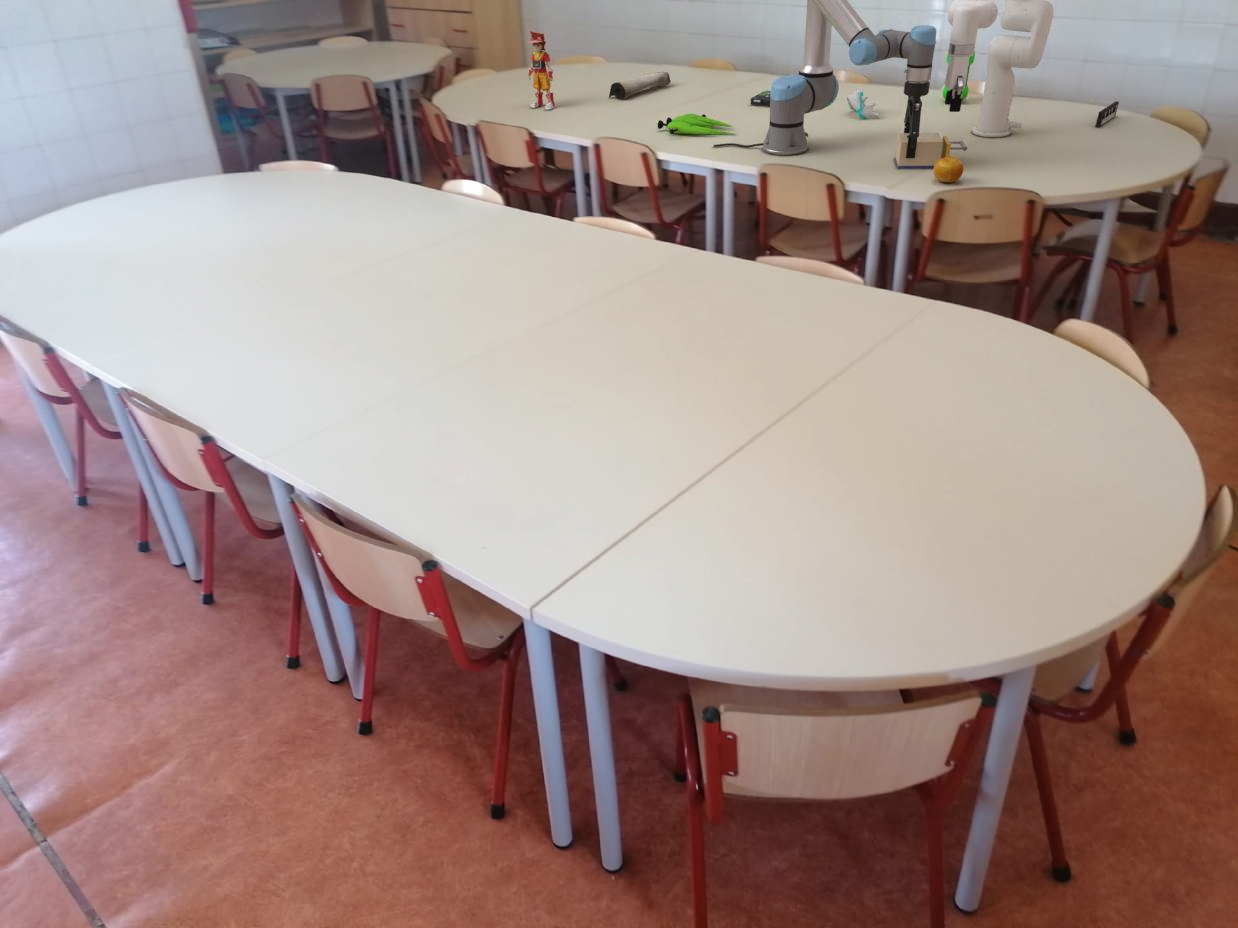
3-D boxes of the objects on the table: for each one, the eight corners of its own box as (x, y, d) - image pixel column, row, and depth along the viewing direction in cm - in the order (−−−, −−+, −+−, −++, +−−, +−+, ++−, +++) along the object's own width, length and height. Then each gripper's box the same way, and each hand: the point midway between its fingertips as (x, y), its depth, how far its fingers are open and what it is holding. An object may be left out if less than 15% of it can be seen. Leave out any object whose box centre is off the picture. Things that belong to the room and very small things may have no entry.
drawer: (960, 156, 294) (963, 136, 291) (965, 164, 287) (968, 144, 283) (906, 156, 297) (909, 136, 293) (910, 165, 289) (912, 144, 286)
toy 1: (525, 109, 381) (517, 32, 364) (534, 104, 388) (527, 28, 371) (550, 110, 377) (543, 32, 360) (559, 105, 384) (553, 28, 367)
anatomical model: (842, 88, 347) (867, 81, 346) (844, 115, 353) (869, 108, 352) (853, 97, 335) (879, 90, 334) (855, 125, 341) (881, 118, 340)
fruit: (927, 172, 273) (945, 149, 270) (928, 175, 281) (945, 152, 278) (950, 188, 272) (968, 164, 269) (951, 190, 280) (968, 167, 277)
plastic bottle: (973, 101, 354) (984, 32, 339) (955, 106, 349) (966, 36, 335) (952, 97, 361) (962, 29, 346) (934, 102, 356) (944, 33, 342)
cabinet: (934, 158, 297) (938, 132, 292) (939, 168, 288) (943, 142, 283) (894, 159, 299) (897, 133, 294) (898, 168, 290) (901, 142, 285)
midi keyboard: (1099, 127, 316) (1102, 112, 313) (1095, 126, 316) (1098, 112, 314) (1115, 116, 326) (1119, 101, 323) (1111, 115, 327) (1115, 101, 324)
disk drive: (773, 107, 363) (788, 98, 373) (773, 100, 361) (788, 91, 371) (750, 105, 368) (765, 96, 378) (750, 98, 366) (765, 89, 376)
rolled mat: (651, 76, 408) (662, 61, 399) (662, 93, 408) (674, 79, 400) (605, 92, 391) (616, 77, 383) (617, 110, 391) (628, 95, 383)
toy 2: (646, 133, 336) (718, 146, 323) (647, 118, 333) (719, 132, 320) (682, 121, 356) (750, 133, 343) (683, 107, 353) (752, 119, 341)
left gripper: (901, 73, 289) (892, 143, 302) (909, 90, 270) (900, 163, 283) (925, 72, 288) (915, 143, 301) (935, 89, 269) (924, 163, 282)
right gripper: (944, 44, 283) (936, 101, 293) (952, 55, 269) (943, 114, 279) (969, 44, 282) (960, 101, 291) (978, 54, 268) (968, 114, 277)
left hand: (908, 153), depth 292 cm, fingers closed on cabinet, 11 cm apart
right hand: (952, 108), depth 285 cm, fingers open, 9 cm apart
